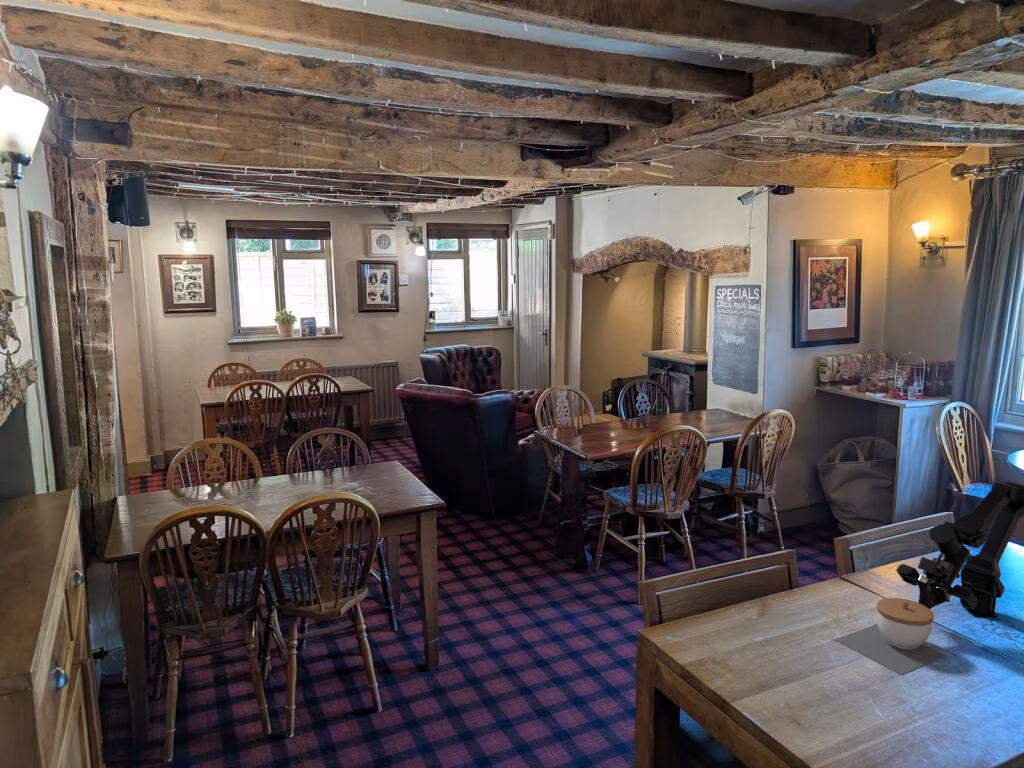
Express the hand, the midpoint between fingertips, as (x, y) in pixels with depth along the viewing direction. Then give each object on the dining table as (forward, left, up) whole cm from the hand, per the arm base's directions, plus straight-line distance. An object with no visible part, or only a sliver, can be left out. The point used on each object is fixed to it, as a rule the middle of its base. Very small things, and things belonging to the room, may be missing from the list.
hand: (919, 612), depth 182 cm
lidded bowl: (+5, +3, -7) cm, 9 cm away
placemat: (+10, +6, -7) cm, 13 cm away
